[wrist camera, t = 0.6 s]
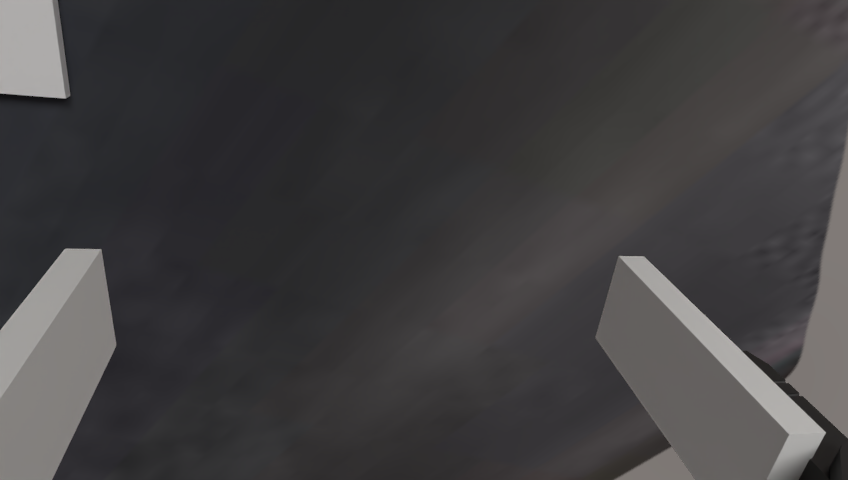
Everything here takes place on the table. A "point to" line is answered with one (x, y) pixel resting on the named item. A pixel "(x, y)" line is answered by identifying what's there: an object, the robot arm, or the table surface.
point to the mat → (32, 49)
